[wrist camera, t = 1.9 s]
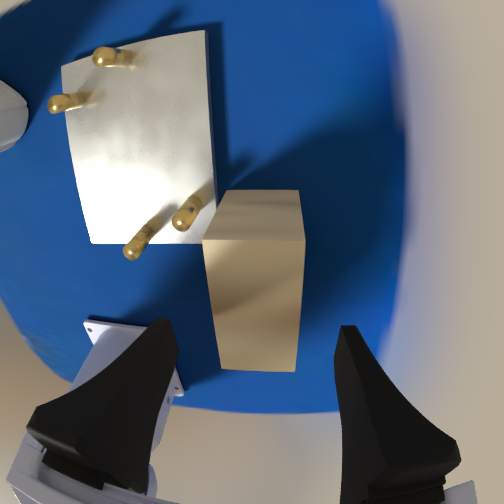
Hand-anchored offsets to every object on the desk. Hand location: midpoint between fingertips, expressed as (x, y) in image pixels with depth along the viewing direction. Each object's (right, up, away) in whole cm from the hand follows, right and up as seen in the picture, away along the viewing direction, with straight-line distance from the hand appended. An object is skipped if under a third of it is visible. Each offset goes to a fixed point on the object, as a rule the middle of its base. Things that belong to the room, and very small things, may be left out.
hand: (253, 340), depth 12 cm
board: (+1, +4, +6) cm, 8 cm away
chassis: (-7, +10, +3) cm, 12 cm away
